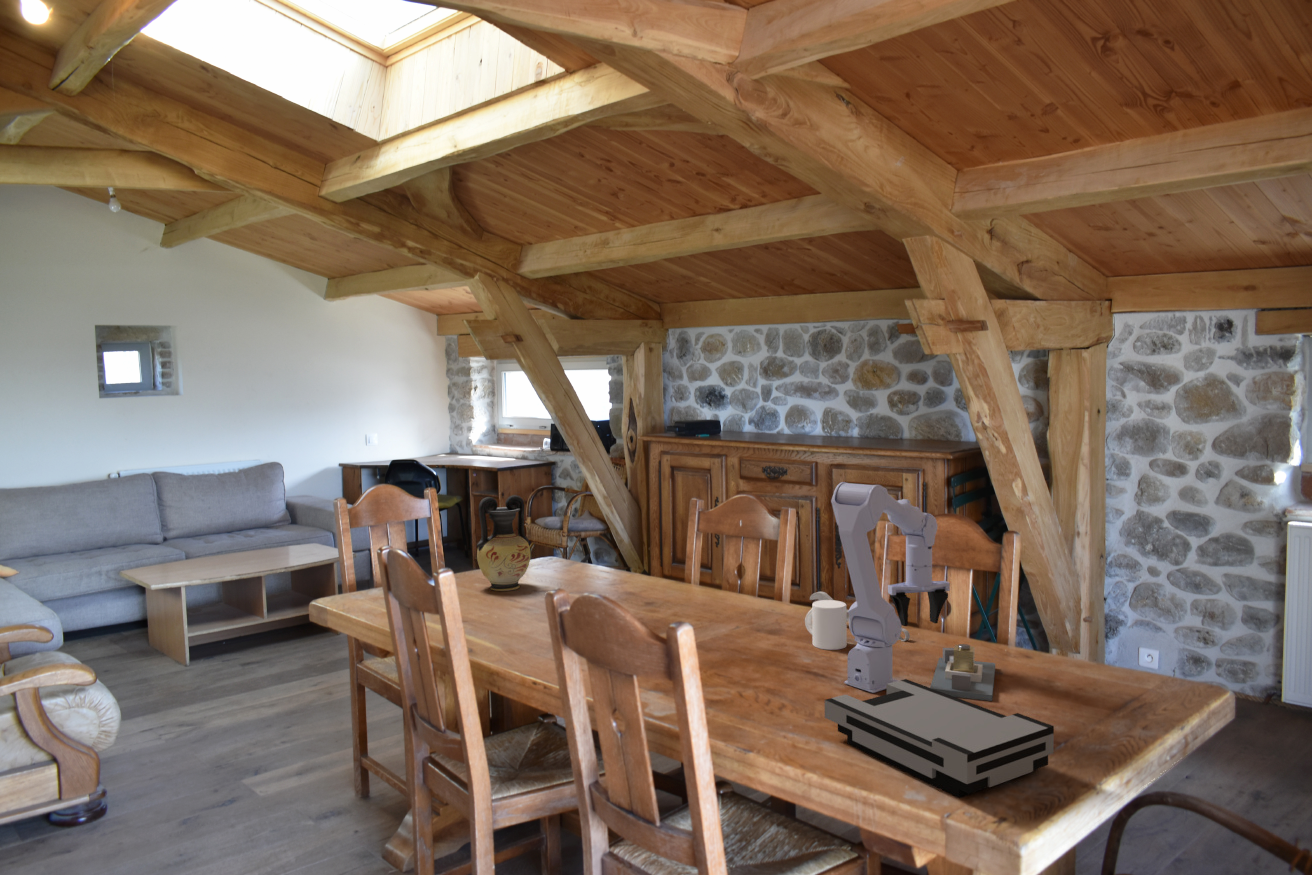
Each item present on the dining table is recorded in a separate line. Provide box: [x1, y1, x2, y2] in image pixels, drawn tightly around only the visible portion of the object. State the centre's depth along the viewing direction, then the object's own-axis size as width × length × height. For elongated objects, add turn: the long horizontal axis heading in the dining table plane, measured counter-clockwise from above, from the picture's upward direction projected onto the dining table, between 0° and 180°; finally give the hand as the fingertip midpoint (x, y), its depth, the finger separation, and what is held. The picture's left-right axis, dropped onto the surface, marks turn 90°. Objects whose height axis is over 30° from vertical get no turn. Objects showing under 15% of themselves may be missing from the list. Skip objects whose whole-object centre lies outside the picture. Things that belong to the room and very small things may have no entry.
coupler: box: [953, 643, 975, 673], centre depth 188 cm, size 4×4×7 cm
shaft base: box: [929, 647, 996, 702], centre depth 189 cm, size 22×12×4 cm, turn 157°
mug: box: [804, 599, 848, 651], centre depth 218 cm, size 8×10×12 cm
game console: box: [824, 678, 1055, 799], centre depth 152 cm, size 21×32×8 cm, turn 31°
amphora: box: [476, 494, 531, 592], centre depth 284 cm, size 18×17×30 cm
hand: (918, 623), depth 200 cm, fingers open, 7 cm apart
